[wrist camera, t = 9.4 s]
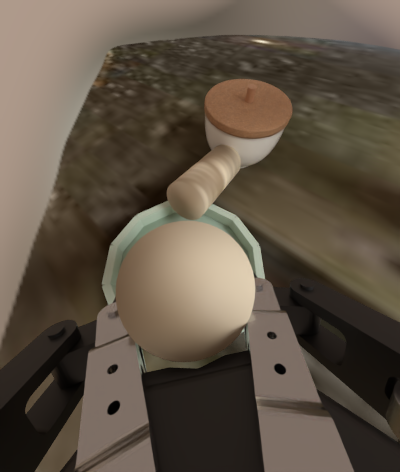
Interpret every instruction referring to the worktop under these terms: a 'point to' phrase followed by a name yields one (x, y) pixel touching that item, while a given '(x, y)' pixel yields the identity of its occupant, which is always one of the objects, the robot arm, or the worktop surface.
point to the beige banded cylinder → (203, 182)
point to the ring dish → (167, 215)
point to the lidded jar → (246, 117)
